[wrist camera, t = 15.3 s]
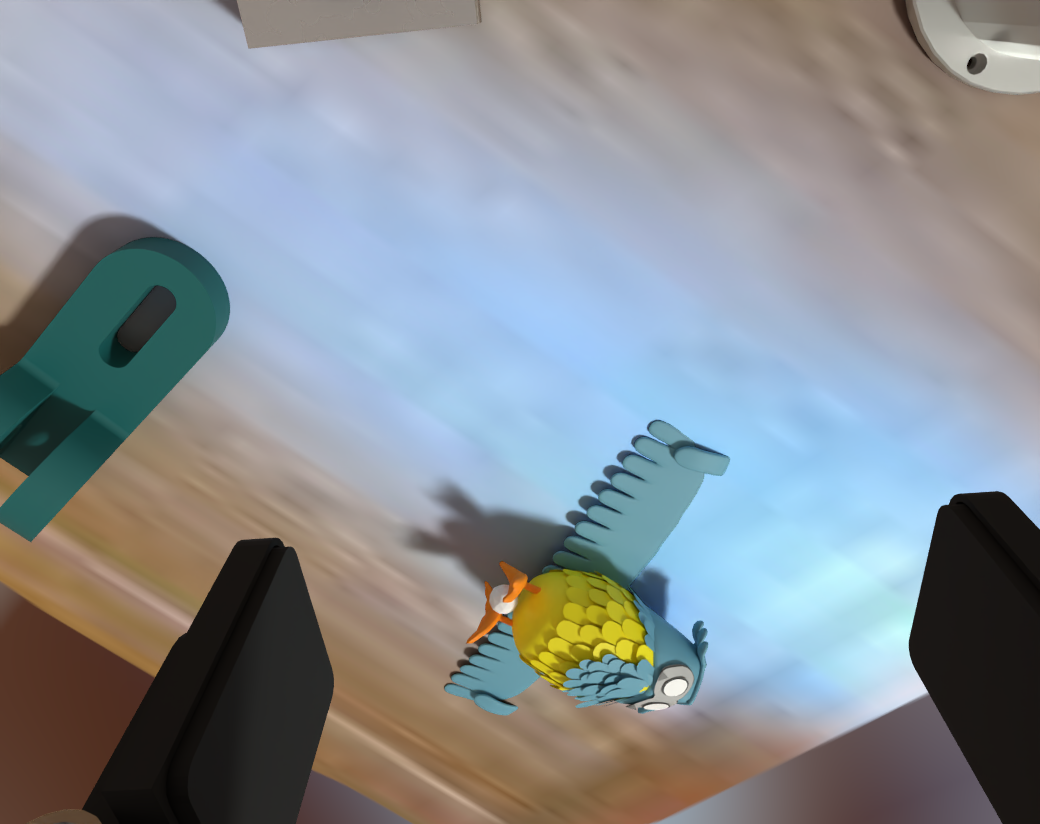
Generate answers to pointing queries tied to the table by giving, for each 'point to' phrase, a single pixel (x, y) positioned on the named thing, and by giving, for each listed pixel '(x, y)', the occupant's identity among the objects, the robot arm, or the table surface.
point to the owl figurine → (600, 599)
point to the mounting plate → (347, 18)
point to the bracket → (101, 373)
